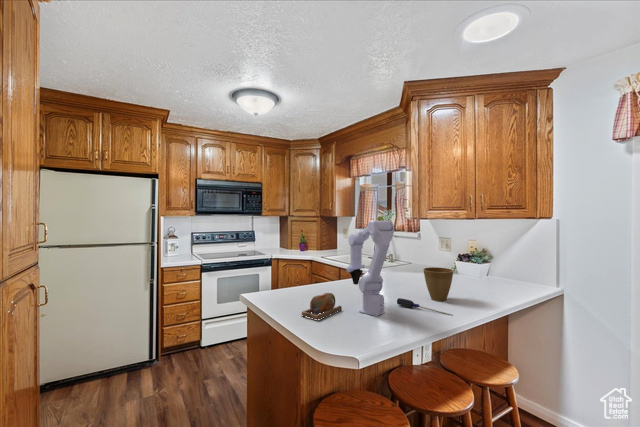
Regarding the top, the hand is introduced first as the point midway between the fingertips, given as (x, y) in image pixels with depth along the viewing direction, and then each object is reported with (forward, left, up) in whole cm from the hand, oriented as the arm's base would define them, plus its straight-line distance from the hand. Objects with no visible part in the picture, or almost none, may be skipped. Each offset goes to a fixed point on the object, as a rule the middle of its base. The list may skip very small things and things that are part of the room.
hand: (355, 284), depth 153 cm
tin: (+4, +23, -10) cm, 25 cm away
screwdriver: (-31, -10, -10) cm, 34 cm away
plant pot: (-31, -33, -10) cm, 46 cm away
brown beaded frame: (+3, +24, -9) cm, 25 cm away
